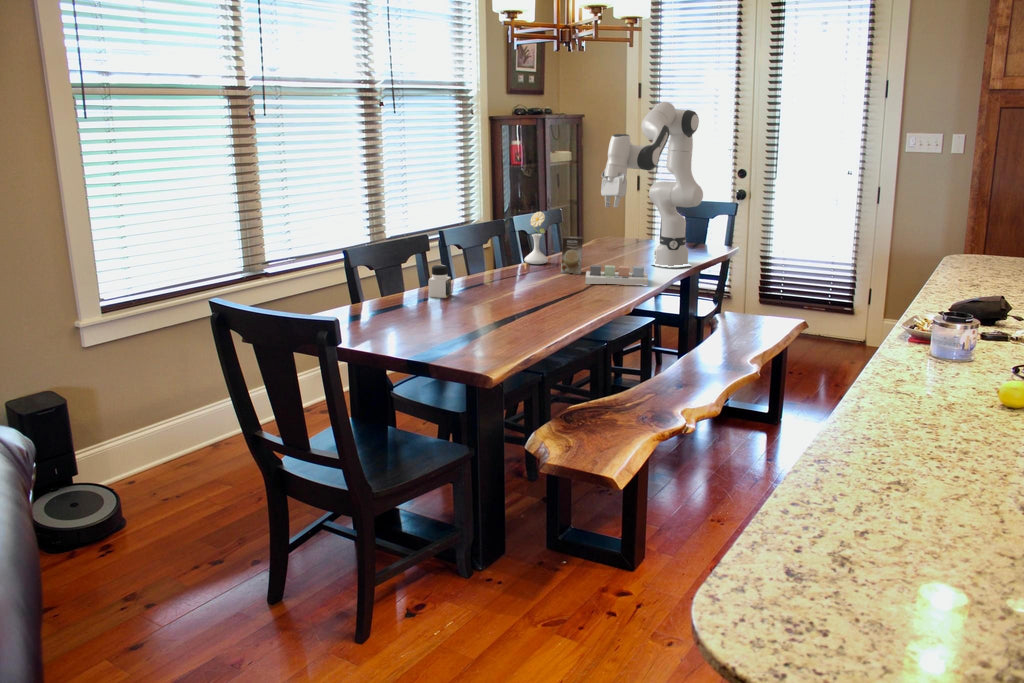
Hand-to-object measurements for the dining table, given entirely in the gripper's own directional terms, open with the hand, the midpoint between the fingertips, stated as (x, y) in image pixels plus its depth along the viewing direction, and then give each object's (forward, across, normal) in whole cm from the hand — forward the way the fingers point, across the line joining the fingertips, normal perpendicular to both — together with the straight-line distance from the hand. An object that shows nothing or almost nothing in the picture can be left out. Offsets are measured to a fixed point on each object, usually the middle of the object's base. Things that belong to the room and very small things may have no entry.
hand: (611, 207), depth 355 cm
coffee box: (+30, +30, +4) cm, 43 cm away
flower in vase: (+29, +54, +13) cm, 62 cm away
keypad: (+31, +6, -9) cm, 33 cm away
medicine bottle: (+43, -6, +68) cm, 81 cm away
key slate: (+28, +3, -17) cm, 33 cm away
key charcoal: (+29, +9, 0) cm, 31 cm away
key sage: (+29, +7, -6) cm, 30 cm away
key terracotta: (+28, +5, -12) cm, 31 cm away
